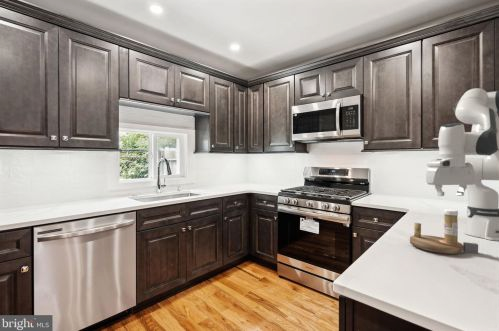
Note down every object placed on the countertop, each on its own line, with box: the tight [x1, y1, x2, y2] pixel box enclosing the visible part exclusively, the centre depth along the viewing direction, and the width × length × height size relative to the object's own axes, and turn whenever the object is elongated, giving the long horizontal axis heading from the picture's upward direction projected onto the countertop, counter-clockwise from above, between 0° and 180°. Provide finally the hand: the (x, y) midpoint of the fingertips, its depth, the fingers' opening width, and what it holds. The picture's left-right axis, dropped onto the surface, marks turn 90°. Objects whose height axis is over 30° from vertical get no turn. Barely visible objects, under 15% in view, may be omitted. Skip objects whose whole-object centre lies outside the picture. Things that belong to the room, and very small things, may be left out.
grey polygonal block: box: [462, 242, 479, 255], centre depth 101 cm, size 4×2×4 cm, turn 69°
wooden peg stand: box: [409, 222, 464, 255], centre depth 105 cm, size 18×18×8 cm
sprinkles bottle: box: [443, 208, 459, 243], centre depth 103 cm, size 5×5×14 cm
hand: (450, 195), depth 103 cm, fingers open, 8 cm apart
